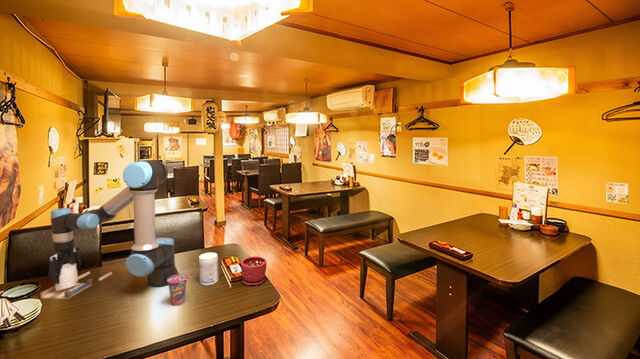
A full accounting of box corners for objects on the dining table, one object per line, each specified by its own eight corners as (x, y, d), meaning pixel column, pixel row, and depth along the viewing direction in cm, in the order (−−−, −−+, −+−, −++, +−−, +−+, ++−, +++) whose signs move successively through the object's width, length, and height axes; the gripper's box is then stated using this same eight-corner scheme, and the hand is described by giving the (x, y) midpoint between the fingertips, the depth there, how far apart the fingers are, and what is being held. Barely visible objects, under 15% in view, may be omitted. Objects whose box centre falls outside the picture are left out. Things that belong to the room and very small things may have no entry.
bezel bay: (92, 284, 148) (92, 279, 147) (68, 299, 134) (67, 292, 134) (68, 284, 148) (67, 278, 148) (40, 298, 134) (40, 291, 134)
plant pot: (236, 285, 149) (235, 263, 148) (251, 275, 161) (251, 254, 160) (257, 290, 144) (257, 267, 143) (271, 279, 156) (271, 258, 155)
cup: (168, 309, 126) (166, 283, 125) (168, 300, 134) (166, 276, 132) (191, 304, 130) (190, 279, 129) (190, 296, 138) (189, 272, 137)
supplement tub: (208, 276, 159) (207, 251, 157) (222, 279, 156) (221, 253, 154) (195, 284, 150) (194, 257, 148) (210, 287, 147) (209, 259, 145)
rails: (112, 274, 161) (112, 272, 161) (100, 280, 153) (100, 278, 153) (88, 273, 161) (88, 271, 161) (75, 279, 153) (75, 278, 153)
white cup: (65, 290, 136) (63, 270, 135) (52, 288, 138) (50, 268, 137) (81, 283, 144) (80, 263, 143) (69, 281, 145) (67, 262, 144)
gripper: (74, 234, 149) (78, 276, 151) (34, 247, 128) (38, 295, 131) (88, 234, 148) (91, 276, 151) (50, 247, 128) (54, 296, 130)
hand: (67, 285), depth 141 cm, fingers closed on white cup, 7 cm apart
